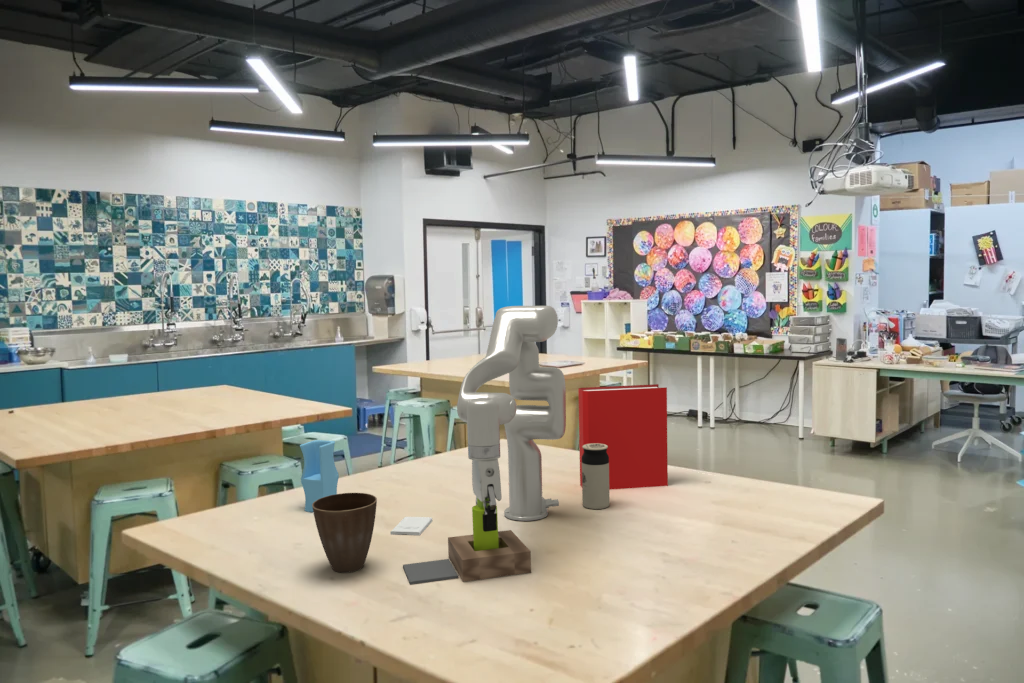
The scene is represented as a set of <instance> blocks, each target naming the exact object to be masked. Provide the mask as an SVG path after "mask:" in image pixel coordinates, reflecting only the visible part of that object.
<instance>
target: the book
mask: <svg viewBox="0 0 1024 683" xmlns="http://www.w3.org/2000/svg"><path fill="white" fill-rule="evenodd" d="M578 433H579V434H578V435H579V436H578V439H579V448H578V449H579V486H580V488H582V455H583V453H584V449H583V447H582V446H583V445H585V444H591V443H599V444H605V445H607V446H608V448H607V454H608V456H609V491H610V490H624V489H639V488H640V489H641V488H653V487H668V485H669V482H668V480H669V478H668V476H669V475H668V474H669V473H668V469H669V468H668V467H669V466H668V388H667V387H659V383H656V384H636V385H635V384H633V385H615V386H614V385H613V386H612V385H611V386H608V385H607V386H590V387H587V386H586V387H579V388H578Z"/></svg>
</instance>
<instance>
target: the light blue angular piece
mask: <svg viewBox="0 0 1024 683" xmlns="http://www.w3.org/2000/svg"><path fill="white" fill-rule="evenodd" d="M335 444H336V441H335V440H323V439H316V440H315V439H314V440H311V441H308V442H305V443H302V444H300V445H299V447H300V450H301V453H302V456H303V462H304V463H303V470H302V474H301V477H300V482H301V485H302V488H303V492H304V498H305V500H304V502H305V504H304V512H307V513H314V512H313V507H312V504H313V503H314V502H315V501H316V500H318V499H320V498H323V497H326V496H330V495H335V494H338V481H339V477H340V474H339V472H338V469H337V467H336V463H335V458H334V452H335Z"/></svg>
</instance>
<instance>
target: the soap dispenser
mask: <svg viewBox="0 0 1024 683" xmlns="http://www.w3.org/2000/svg"><path fill="white" fill-rule="evenodd" d="M485 500H486V501H489V498H486V499H485ZM488 505H489V504H486V506H488ZM496 512H497V513H498V505H496ZM471 513H472V514H471V515H472V535H473V540H474V551H481V550H489V549H497V548H499V541H498V531H499V526H498V525H499V520H498V517H497V530H495V531H487V532H484V531H483V514H484V509H483V502H481V501H480V500H479V499H478V498H477V505H476V504H475V505H474V506H472V508H471Z"/></svg>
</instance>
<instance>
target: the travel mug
mask: <svg viewBox="0 0 1024 683" xmlns="http://www.w3.org/2000/svg"><path fill="white" fill-rule="evenodd" d="M582 447H583V449H584V453H583V455H582V487H581V489H582V490H581V492H582V496H581V498H582V500H581V501H582V506H583V507H584V508H587V509H590V510H602V509H606V508H608V507H609V506H610V504H611V503H610V499H611V498H610V490H609V456H608V454H607V448H608V446H607V445H605V444H599V443H591V444H585V445H583V446H582Z"/></svg>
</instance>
